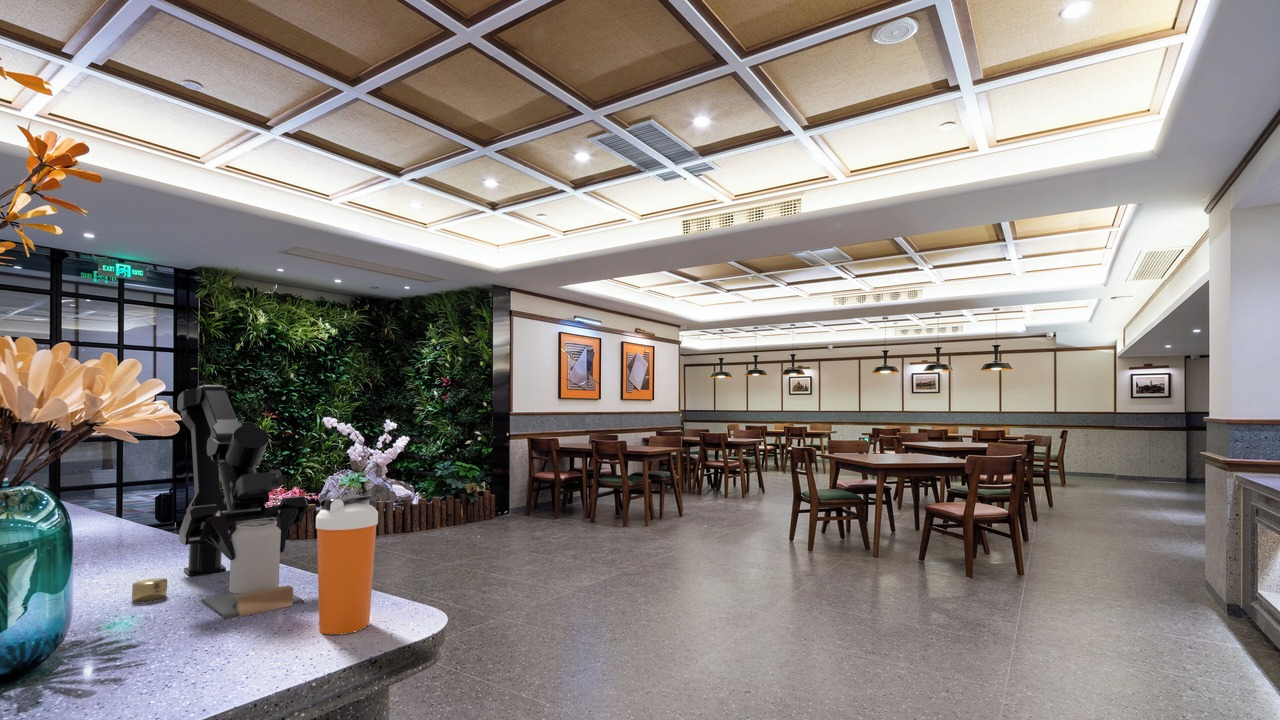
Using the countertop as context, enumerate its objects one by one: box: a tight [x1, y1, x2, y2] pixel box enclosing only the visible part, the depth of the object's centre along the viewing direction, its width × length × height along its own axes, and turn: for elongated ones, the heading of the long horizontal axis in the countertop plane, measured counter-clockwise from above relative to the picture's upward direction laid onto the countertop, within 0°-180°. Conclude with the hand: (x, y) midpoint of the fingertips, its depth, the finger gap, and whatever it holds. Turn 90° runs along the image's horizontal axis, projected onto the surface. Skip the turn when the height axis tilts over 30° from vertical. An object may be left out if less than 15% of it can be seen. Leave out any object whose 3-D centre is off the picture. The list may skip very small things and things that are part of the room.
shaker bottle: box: [315, 493, 379, 635], centre depth 102 cm, size 9×9×20 cm
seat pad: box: [201, 585, 305, 620], centre depth 115 cm, size 14×12×1 cm
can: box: [228, 520, 281, 596], centre depth 114 cm, size 8×8×12 cm
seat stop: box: [236, 585, 294, 617], centre depth 110 cm, size 2×8×3 cm, turn 137°
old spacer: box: [131, 577, 168, 603], centre depth 117 cm, size 5×5×3 cm
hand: (258, 554), depth 114 cm, fingers closed on can, 7 cm apart
